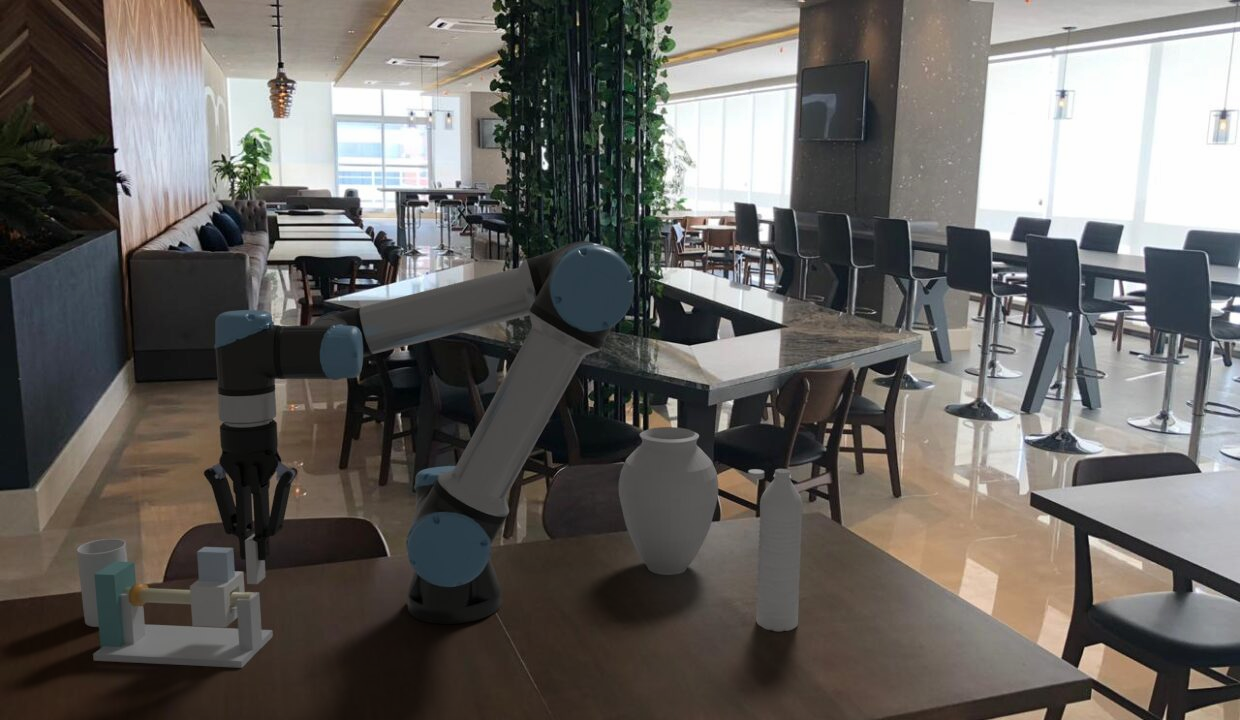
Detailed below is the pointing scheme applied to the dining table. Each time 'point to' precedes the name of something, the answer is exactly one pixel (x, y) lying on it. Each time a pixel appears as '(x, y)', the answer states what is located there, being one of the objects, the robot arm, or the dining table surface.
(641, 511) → the vase
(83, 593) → the mug
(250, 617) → the grey vise fixture
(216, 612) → the grey stepped block
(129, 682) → the dining table surface
